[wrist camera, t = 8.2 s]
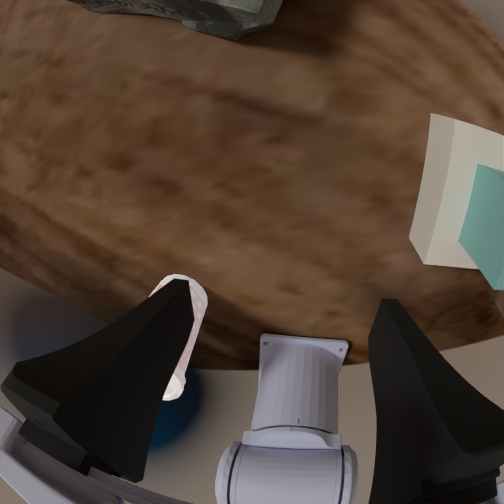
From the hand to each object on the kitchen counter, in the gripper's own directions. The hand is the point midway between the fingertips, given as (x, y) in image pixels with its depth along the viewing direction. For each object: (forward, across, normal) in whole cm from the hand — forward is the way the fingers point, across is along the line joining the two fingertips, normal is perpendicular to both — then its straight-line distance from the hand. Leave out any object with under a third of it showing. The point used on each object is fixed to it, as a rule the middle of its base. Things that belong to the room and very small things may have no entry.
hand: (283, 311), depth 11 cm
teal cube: (+7, -13, -3) cm, 15 cm away
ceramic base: (+10, -13, -3) cm, 17 cm away
